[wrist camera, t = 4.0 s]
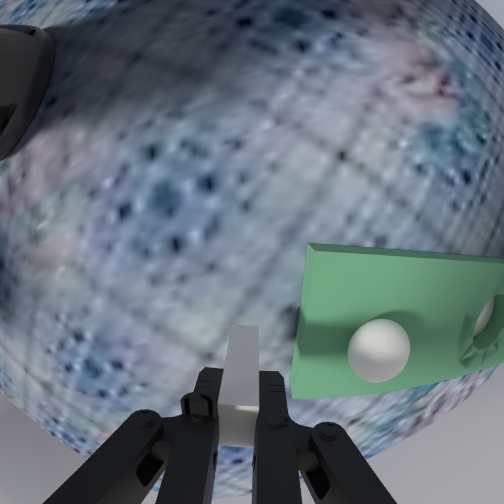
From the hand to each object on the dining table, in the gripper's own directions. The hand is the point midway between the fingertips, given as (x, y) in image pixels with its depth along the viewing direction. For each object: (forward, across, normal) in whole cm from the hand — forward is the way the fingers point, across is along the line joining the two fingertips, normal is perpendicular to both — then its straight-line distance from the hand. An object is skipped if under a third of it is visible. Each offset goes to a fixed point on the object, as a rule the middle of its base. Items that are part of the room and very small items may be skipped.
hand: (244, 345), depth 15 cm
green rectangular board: (+4, +16, 0) cm, 17 cm away
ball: (-1, +8, 0) cm, 8 cm away
